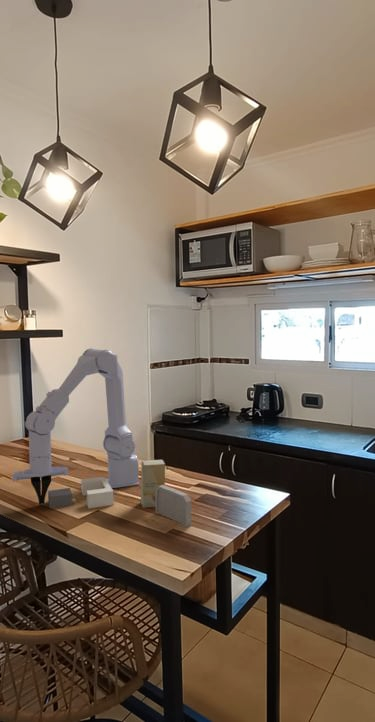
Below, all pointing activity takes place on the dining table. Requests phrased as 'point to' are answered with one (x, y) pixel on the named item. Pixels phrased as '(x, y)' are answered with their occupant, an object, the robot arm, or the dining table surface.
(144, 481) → the skincare box
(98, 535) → the dining table surface
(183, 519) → the light switch
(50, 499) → the plug
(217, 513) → the dining table surface
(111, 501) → the socket block
